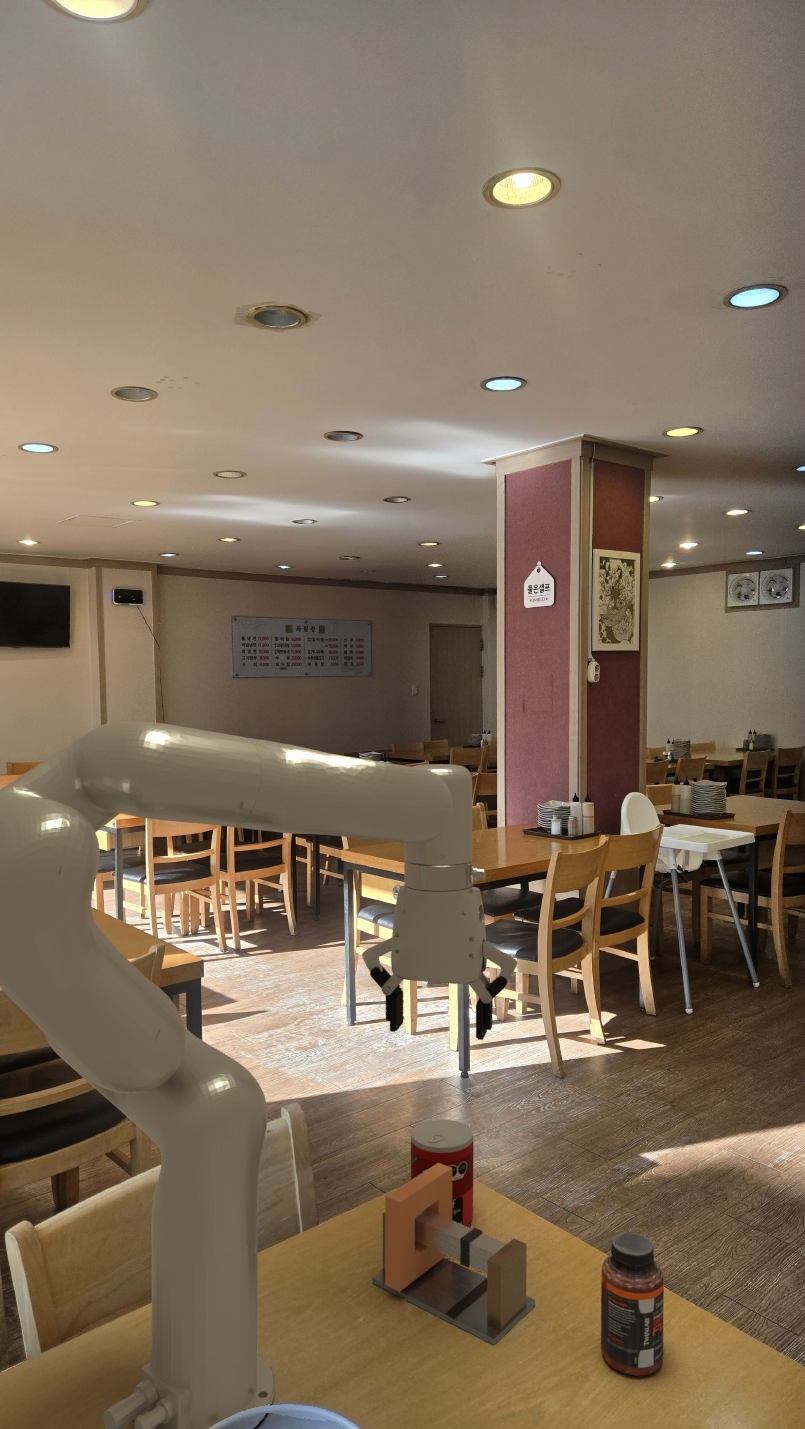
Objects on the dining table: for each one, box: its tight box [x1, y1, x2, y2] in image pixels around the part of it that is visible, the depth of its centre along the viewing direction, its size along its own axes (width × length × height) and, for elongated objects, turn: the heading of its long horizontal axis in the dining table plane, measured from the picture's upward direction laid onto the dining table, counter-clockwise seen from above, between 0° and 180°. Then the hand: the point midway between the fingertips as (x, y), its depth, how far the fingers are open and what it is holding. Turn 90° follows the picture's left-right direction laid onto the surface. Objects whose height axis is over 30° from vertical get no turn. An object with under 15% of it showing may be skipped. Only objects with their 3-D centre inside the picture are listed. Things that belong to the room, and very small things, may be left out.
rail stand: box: [371, 1209, 536, 1346], centre depth 101 cm, size 16×8×7 cm, turn 51°
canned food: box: [410, 1119, 474, 1228], centre depth 116 cm, size 8×8×11 cm
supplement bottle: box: [600, 1232, 665, 1377], centre depth 91 cm, size 6×6×11 cm
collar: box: [384, 1163, 452, 1292], centre depth 104 cm, size 2×10×10 cm, turn 141°
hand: (438, 1031), depth 103 cm, fingers open, 9 cm apart
